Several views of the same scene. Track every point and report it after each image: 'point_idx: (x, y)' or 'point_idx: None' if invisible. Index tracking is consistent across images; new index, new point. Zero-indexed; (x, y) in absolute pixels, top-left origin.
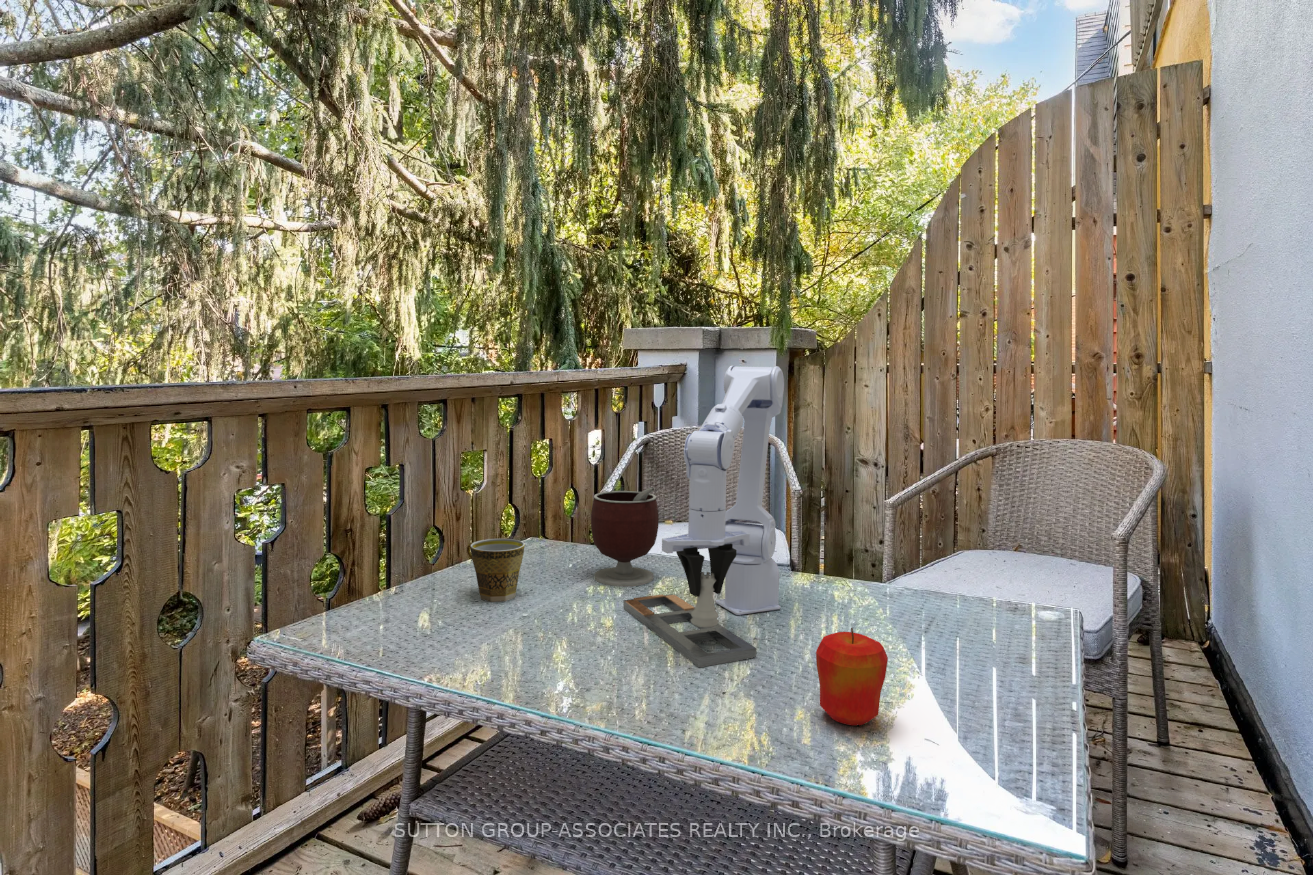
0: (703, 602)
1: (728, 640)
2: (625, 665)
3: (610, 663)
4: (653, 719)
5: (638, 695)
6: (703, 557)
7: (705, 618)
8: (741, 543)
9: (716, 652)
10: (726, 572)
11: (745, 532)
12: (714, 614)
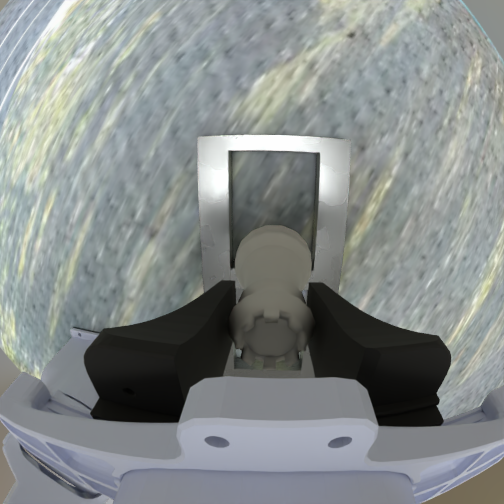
0: (291, 270)
1: (229, 209)
2: (446, 217)
3: (457, 236)
4: (466, 43)
5: (468, 107)
6: (376, 346)
7: (291, 236)
8: (49, 401)
9: (299, 148)
10: (183, 307)
11: (10, 431)
12: (258, 241)
